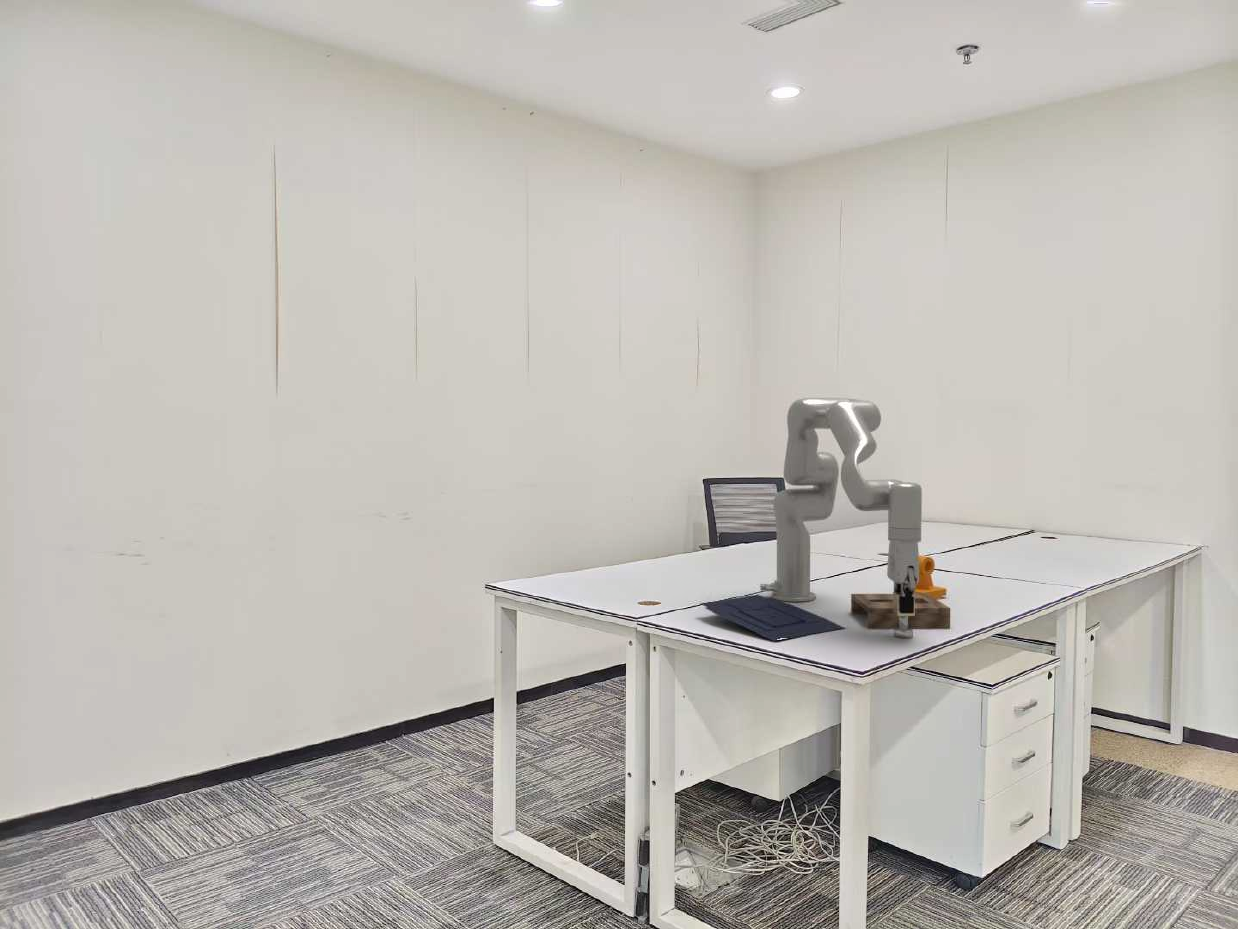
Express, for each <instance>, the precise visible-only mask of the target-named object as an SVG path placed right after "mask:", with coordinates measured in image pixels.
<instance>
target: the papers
mask: <svg viewBox="0 0 1238 929" xmlns="http://www.w3.org/2000/svg"><path fill="white" fill-rule="evenodd" d="M699 604H700V605H702V606H703V607H705V609H706V610H708V611H710V612H711V613H713V614H714V615H717V616H719V617H722V618H725V619H726V620H729V621H730V622H733V623H735V624H737V625H739V626H741V627H744V628H745V629H747V630H751V631H752V632H754V633H755V634H757V635H760V636H762V637H764V638H766V639H769V640H771V641H773V642H775V641H776V640H777V639H780V638H790V639H794V638H797V637H801V636H807V635H812V634H817V633H822V632H831V631H836V630H842V629H845V627H844V626H843V625H839V624H837V623H835V622H833V621H831V620H829V619H827V618H826V617H823V616H820V615H818V614H815V613H813V612H810V611H807V610H806V609H803V608H800V607H798V606H795V605H794V604H791V603H786V602H785V601H781V600H776V599H774V598H772V597H771V596H769V597H765V596H762V595H760V594H754V595H747V596H740V597H735V598H729V599H723V600H715V601H707V602H701V603H699ZM776 642H777V641H776Z"/></svg>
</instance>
